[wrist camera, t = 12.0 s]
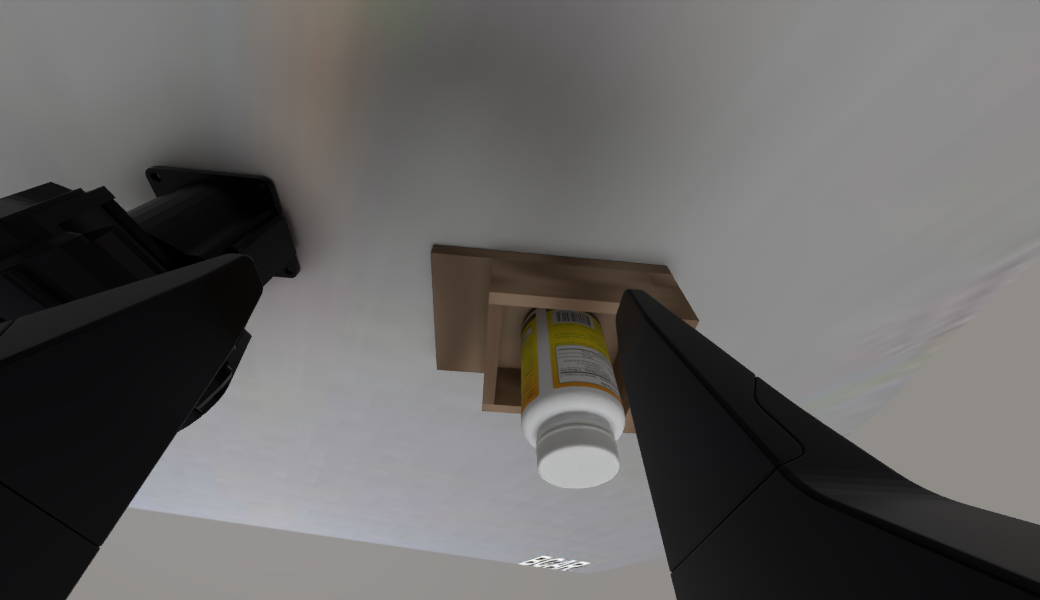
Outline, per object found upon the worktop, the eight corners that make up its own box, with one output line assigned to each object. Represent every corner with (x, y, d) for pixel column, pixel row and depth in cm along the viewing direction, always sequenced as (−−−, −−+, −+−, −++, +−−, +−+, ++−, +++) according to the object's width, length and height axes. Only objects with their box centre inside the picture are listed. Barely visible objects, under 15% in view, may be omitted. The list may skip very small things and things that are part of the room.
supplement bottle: (541, 364, 28) (549, 505, 20) (507, 314, 25) (499, 456, 17) (611, 340, 26) (651, 482, 18) (583, 284, 23) (615, 424, 15)
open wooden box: (439, 360, 29) (424, 419, 25) (433, 244, 23) (412, 297, 19) (623, 373, 30) (640, 433, 26) (666, 265, 24) (699, 320, 19)
